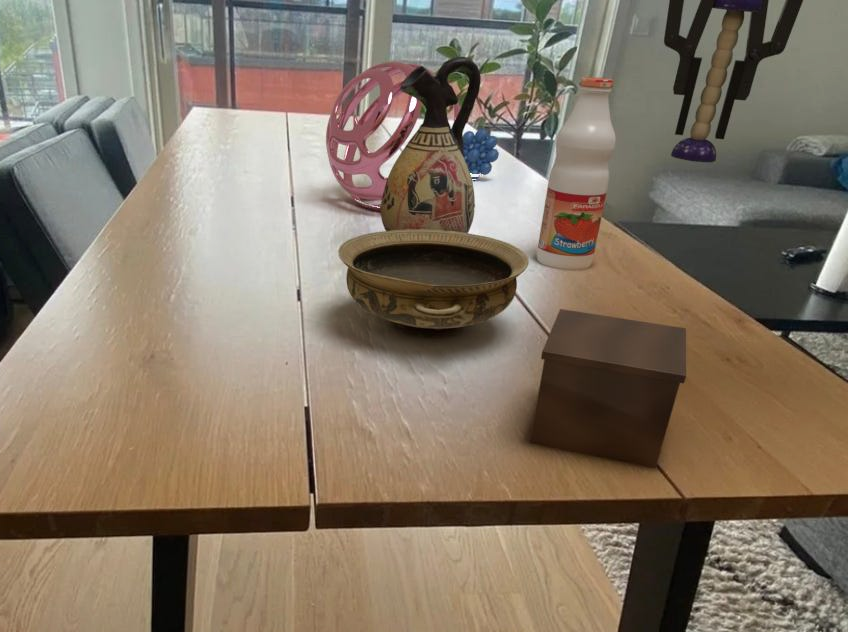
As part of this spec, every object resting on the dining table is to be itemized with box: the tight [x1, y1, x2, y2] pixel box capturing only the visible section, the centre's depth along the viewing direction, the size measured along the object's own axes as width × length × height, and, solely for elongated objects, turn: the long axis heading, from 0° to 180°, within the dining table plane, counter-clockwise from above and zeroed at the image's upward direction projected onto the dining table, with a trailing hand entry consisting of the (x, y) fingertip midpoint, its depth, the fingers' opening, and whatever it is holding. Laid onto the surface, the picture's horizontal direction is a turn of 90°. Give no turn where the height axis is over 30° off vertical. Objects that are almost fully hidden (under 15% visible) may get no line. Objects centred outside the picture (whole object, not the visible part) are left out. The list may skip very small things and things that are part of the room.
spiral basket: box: [325, 60, 461, 212], centre depth 154 cm, size 28×28×27 cm
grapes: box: [462, 128, 500, 180], centre depth 185 cm, size 12×7×12 cm, turn 71°
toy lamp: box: [670, 0, 762, 163], centre depth 71 cm, size 5×5×17 cm
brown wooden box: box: [529, 308, 687, 469], centre depth 76 cm, size 13×13×10 cm
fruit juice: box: [536, 76, 617, 271], centre depth 123 cm, size 9×9×28 cm
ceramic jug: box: [379, 56, 482, 233], centre depth 123 cm, size 17×15×30 cm
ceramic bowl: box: [337, 229, 530, 338], centre depth 99 cm, size 30×24×10 cm
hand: (699, 134), depth 75 cm, fingers closed on toy lamp, 3 cm apart
